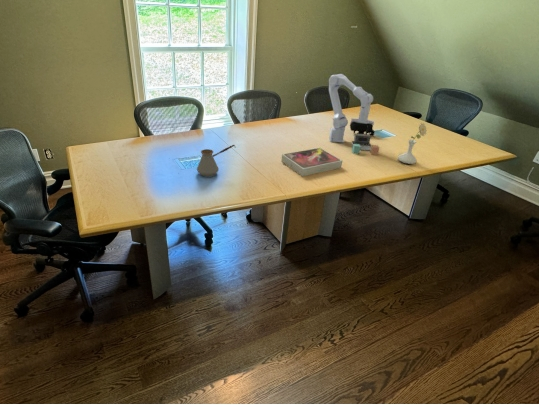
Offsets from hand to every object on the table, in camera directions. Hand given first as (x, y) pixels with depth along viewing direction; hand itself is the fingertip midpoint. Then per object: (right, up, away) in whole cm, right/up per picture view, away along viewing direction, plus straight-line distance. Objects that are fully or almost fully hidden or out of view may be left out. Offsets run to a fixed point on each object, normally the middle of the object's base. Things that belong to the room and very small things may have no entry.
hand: (360, 133), depth 225 cm
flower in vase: (+27, -20, -11) cm, 35 cm away
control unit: (+4, -5, +11) cm, 13 cm away
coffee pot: (-89, -29, -40) cm, 102 cm away
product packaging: (-35, -24, -23) cm, 49 cm away
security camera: (+8, +5, +28) cm, 30 cm away
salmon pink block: (+8, -13, -3) cm, 16 cm away
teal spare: (-4, -13, -3) cm, 14 cm away
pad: (+3, -9, +4) cm, 10 cm away
